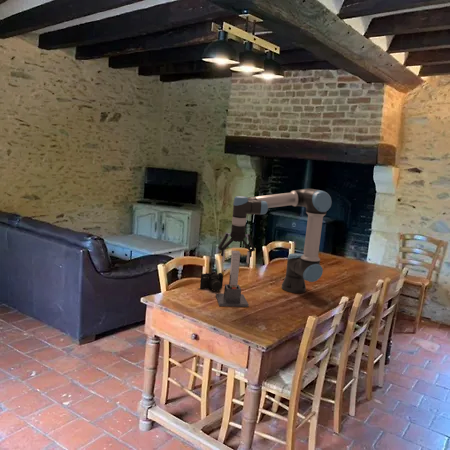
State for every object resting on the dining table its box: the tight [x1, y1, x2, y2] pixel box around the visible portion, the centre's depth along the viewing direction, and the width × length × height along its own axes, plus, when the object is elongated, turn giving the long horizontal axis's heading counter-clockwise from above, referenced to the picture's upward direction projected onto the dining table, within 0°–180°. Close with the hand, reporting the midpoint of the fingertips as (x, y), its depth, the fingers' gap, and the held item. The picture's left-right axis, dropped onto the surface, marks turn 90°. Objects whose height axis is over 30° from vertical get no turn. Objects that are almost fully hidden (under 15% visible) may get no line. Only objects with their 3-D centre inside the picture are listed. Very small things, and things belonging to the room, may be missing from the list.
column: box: [228, 250, 241, 289], centre depth 232 cm, size 4×6×21 cm, turn 9°
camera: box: [199, 271, 224, 293], centre depth 251 cm, size 14×11×10 cm
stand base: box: [215, 283, 250, 308], centre depth 234 cm, size 16×16×10 cm
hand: (235, 262), depth 231 cm, fingers open, 13 cm apart
